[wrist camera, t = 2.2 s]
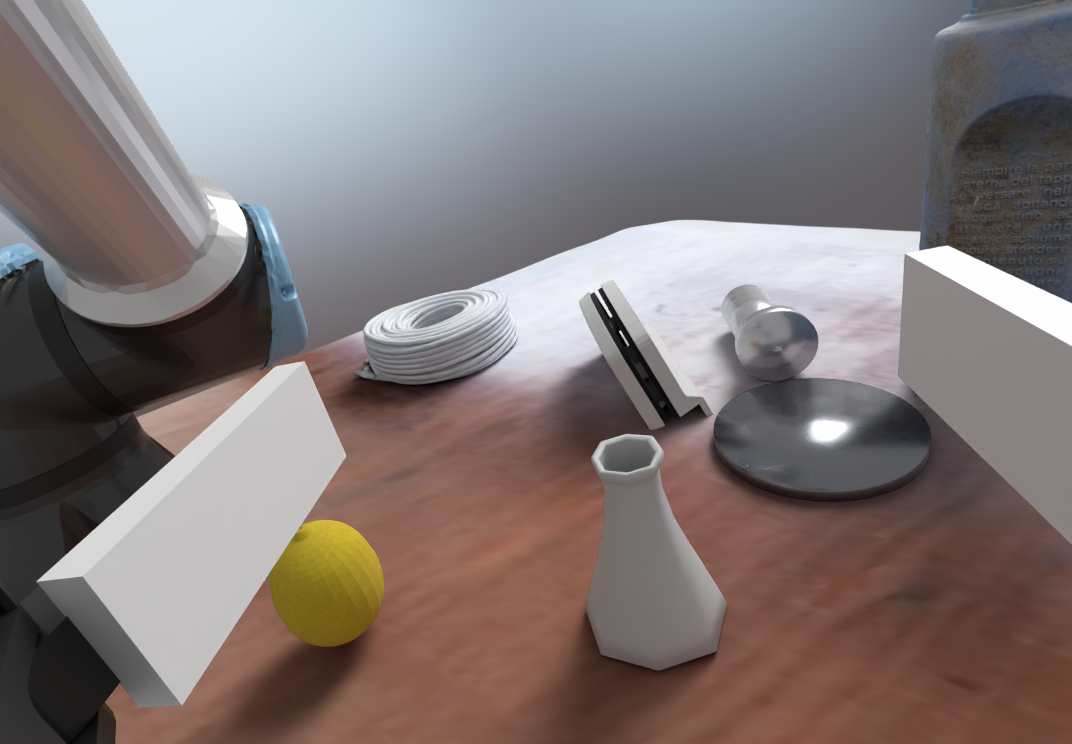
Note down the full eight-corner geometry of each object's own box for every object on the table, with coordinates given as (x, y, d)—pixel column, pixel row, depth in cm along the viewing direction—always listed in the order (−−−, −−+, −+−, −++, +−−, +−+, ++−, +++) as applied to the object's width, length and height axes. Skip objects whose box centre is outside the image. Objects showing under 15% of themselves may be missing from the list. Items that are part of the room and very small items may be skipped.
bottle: (895, 404, 40) (927, -128, 27) (923, 344, 46) (960, -115, 34) (1081, 432, 34) (1235, -241, 21) (1084, 357, 40) (1206, -198, 27)
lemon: (369, 685, 29) (308, 572, 26) (286, 670, 31) (219, 564, 28) (419, 598, 34) (373, 493, 31) (344, 590, 36) (293, 490, 33)
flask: (582, 676, 27) (537, 515, 23) (589, 561, 34) (555, 419, 29) (740, 672, 26) (723, 499, 21) (717, 553, 32) (700, 401, 28)
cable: (347, 380, 68) (328, 334, 65) (452, 320, 79) (439, 278, 76) (443, 404, 57) (424, 349, 54) (549, 330, 68) (538, 282, 65)
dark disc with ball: (736, 512, 34) (729, 429, 32) (679, 338, 57) (672, 281, 55) (975, 486, 32) (989, 395, 30) (816, 315, 55) (816, 255, 53)
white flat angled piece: (714, 416, 44) (656, 314, 40) (660, 446, 45) (597, 349, 41) (658, 336, 59) (611, 256, 55) (618, 359, 60) (569, 282, 56)
